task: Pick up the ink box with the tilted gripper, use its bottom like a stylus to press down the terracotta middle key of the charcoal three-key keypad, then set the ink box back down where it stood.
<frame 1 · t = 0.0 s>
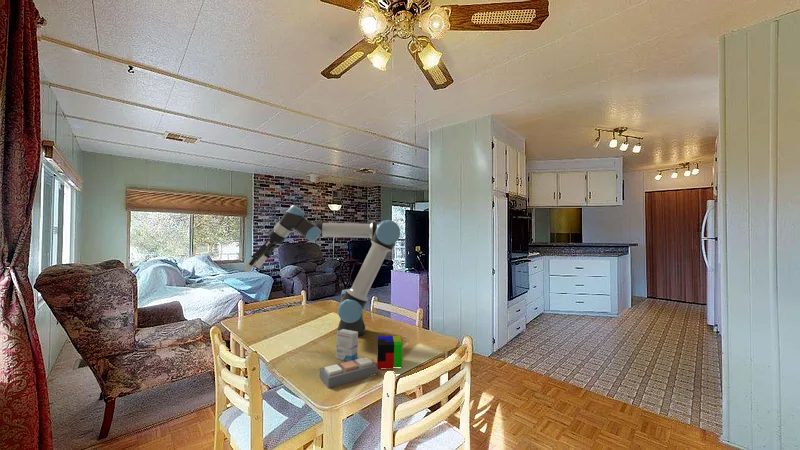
hand: (251, 268, 152), 36 cm above the table, tool tilted 35°, fingers open, 13 cm apart
keypad: (348, 375, 121), on the table
ink box: (346, 358, 137), on the table
puzzle toy: (389, 364, 133), on the table
key 1: (333, 371, 118), point 3 cm above the table, slide at 0.0 cm
key 2: (363, 363, 125), point 3 cm above the table, slide at 0.0 cm
middle key: (348, 367, 121), point 3 cm above the table, slide at 0.0 cm
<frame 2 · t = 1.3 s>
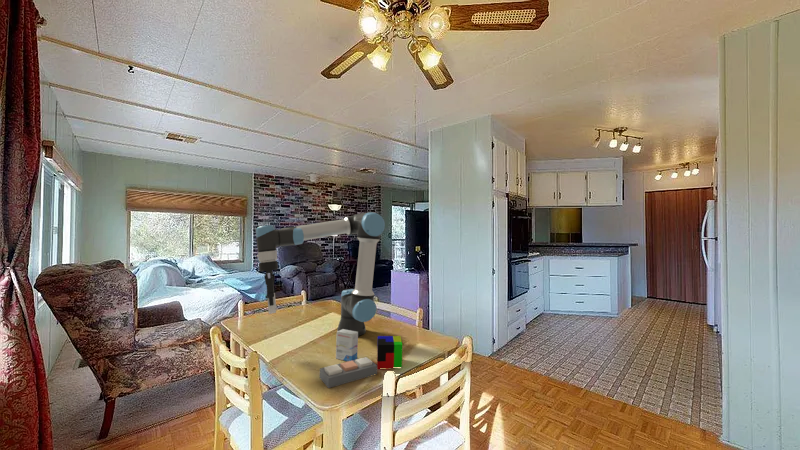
hand: (272, 310, 135), 21 cm above the table, tool pointing down, fingers open, 13 cm apart
nothing on the table moved.
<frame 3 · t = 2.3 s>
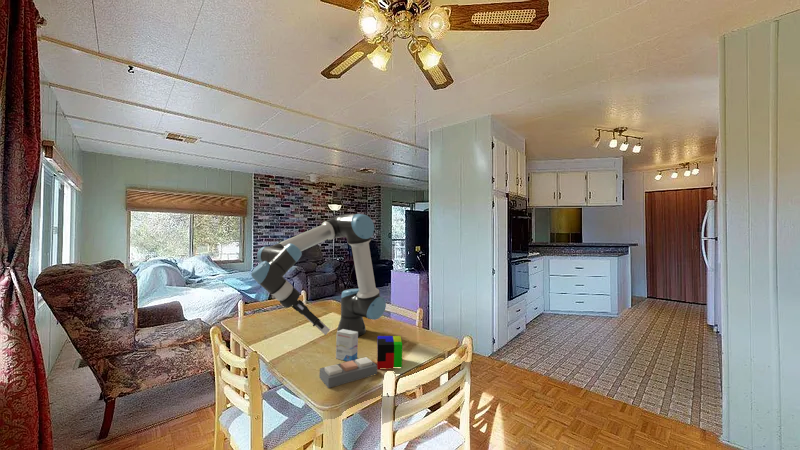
hand: (321, 327, 131), 15 cm above the table, tool tilted 45°, fingers open, 13 cm apart
nothing on the table moved.
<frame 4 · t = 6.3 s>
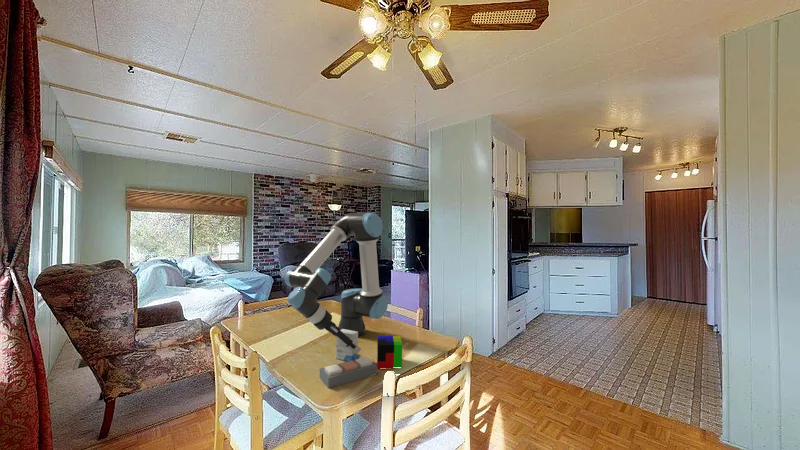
hand: (353, 347, 139), 4 cm above the table, tool tilted 45°, fingers closed on ink box, 10 cm apart
ink box: (346, 358, 137), on the table, touching gripper
everything else where it was.
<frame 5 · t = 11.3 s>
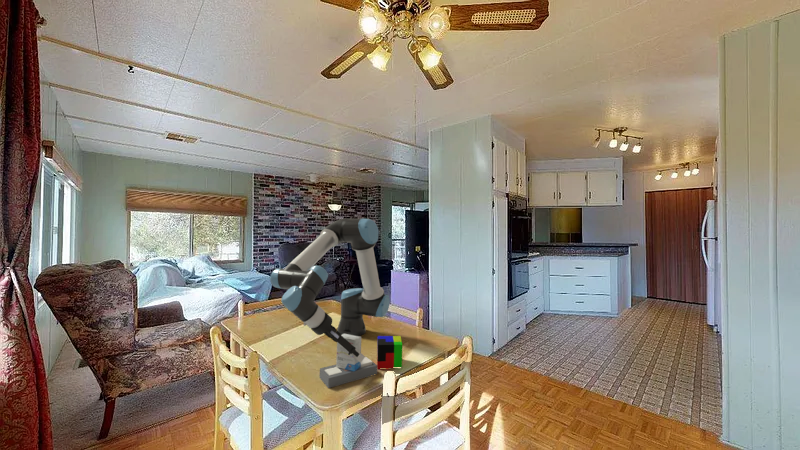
hand: (356, 354, 123), 8 cm above the table, tool tilted 45°, fingers closed on ink box, 10 cm apart
ink box: (348, 367, 121), point 3 cm above the table, touching gripper, keypad, key 1
key 1: (333, 374, 118), point 2 cm above the table, slide at 1.0 cm, touching ink box
middle key: (348, 370, 121), point 2 cm above the table, slide at 1.0 cm, touching keypad
everything else where it was.
when the fingers open (5 cm above the table, at t = 17.3 s): ink box drops 1 cm, on the table.
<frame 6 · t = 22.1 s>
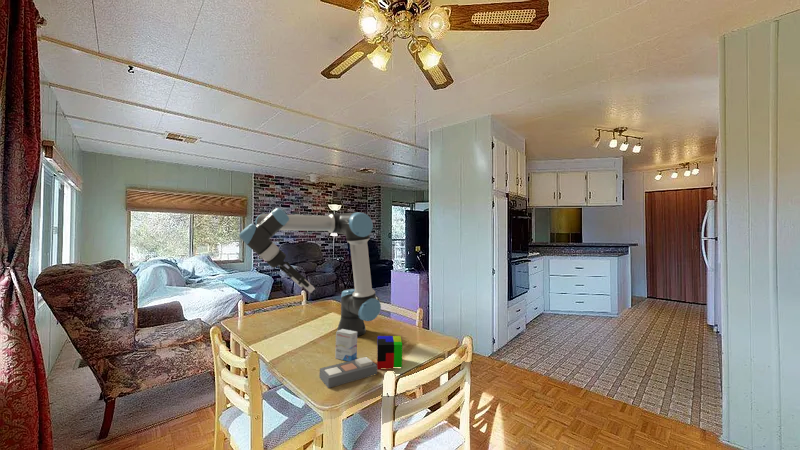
hand: (307, 287, 140), 30 cm above the table, tool tilted 45°, fingers open, 13 cm apart
ink box: (346, 358, 137), on the table
key 1: (333, 374, 118), point 2 cm above the table, slide at 1.0 cm
everything else where it was.
at the end: middle key slide at 1.0 cm; ink box tilted 0°; ink box inside the target area (0.3 cm from its centre), on the table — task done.
